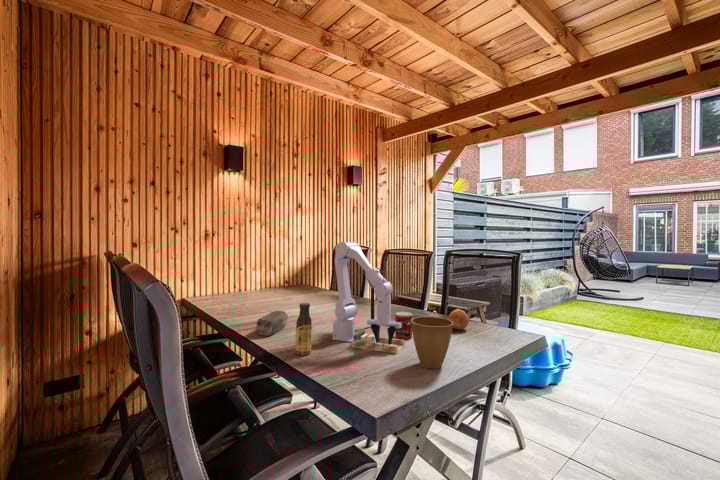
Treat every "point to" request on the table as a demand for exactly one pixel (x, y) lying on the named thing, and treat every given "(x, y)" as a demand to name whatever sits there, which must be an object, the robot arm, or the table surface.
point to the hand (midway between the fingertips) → (383, 343)
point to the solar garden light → (372, 294)
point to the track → (378, 344)
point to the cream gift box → (368, 338)
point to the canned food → (404, 325)
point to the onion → (459, 319)
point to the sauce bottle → (303, 331)
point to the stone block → (271, 323)
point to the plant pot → (431, 340)
